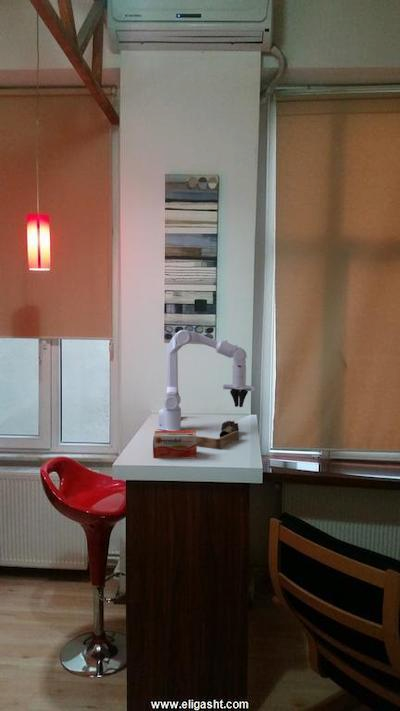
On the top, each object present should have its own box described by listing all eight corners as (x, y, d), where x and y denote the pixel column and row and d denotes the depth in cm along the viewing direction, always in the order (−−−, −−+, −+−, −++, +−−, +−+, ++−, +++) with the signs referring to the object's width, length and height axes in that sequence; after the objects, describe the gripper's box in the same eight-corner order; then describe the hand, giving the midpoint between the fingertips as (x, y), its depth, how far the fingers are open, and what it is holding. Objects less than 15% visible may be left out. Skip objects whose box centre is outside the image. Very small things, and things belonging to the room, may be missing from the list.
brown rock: (231, 442, 193) (231, 428, 193) (214, 441, 195) (214, 427, 195) (240, 432, 210) (240, 419, 210) (225, 431, 212) (225, 418, 212)
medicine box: (152, 458, 169) (152, 435, 168) (153, 452, 177) (153, 430, 176) (196, 458, 170) (196, 435, 169) (195, 452, 178) (195, 430, 177)
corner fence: (188, 444, 187) (188, 435, 187) (209, 435, 203) (209, 427, 203) (218, 449, 181) (219, 439, 181) (238, 439, 196) (238, 430, 196)
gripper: (220, 375, 212) (219, 406, 213) (251, 377, 205) (250, 409, 206) (227, 374, 218) (226, 404, 219) (257, 375, 211) (257, 407, 212)
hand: (238, 406), depth 213 cm, fingers closed
